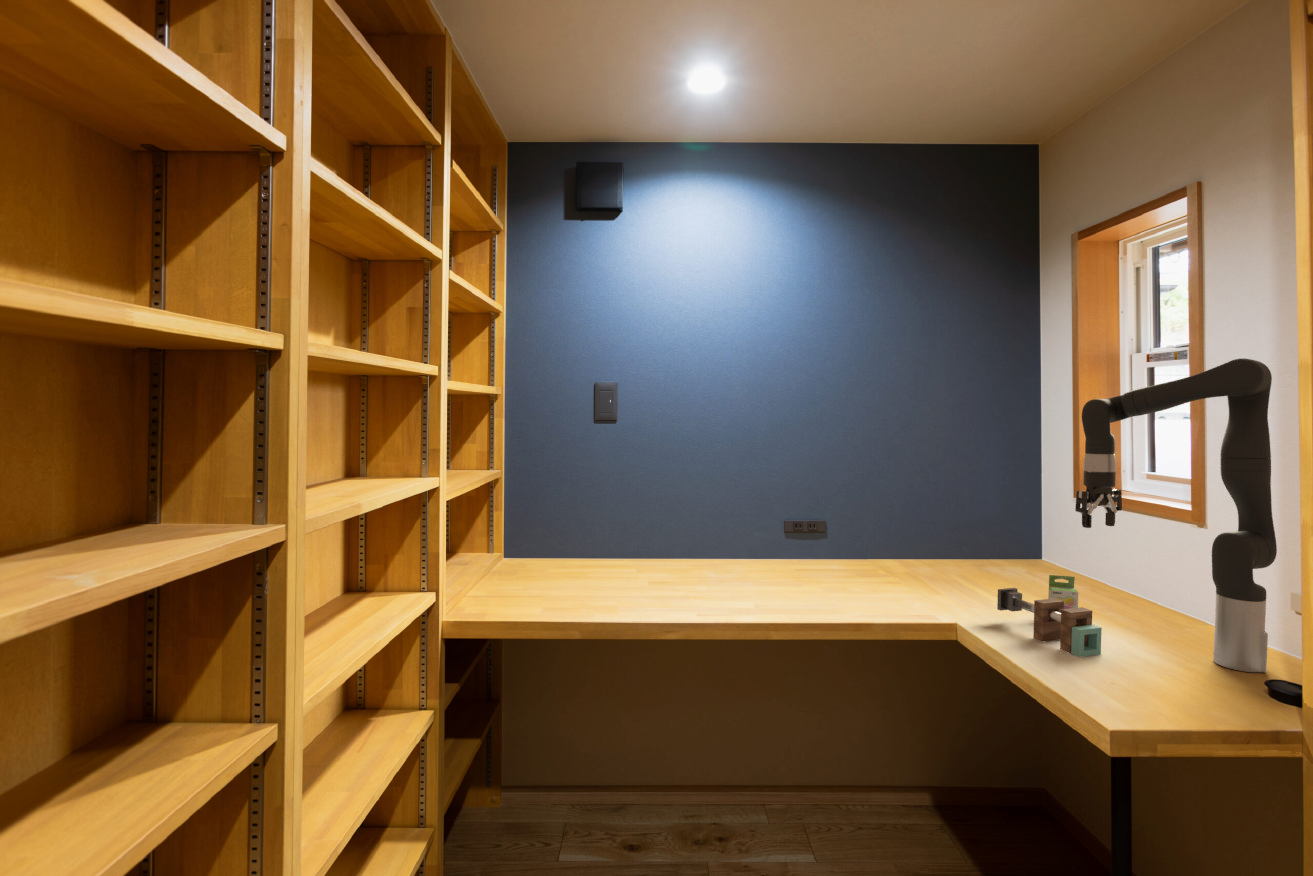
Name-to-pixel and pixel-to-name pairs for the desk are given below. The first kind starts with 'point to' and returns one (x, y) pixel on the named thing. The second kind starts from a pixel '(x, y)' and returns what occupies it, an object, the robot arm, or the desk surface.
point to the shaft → (1020, 603)
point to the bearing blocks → (1056, 630)
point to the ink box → (1063, 591)
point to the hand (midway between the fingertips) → (1098, 526)
